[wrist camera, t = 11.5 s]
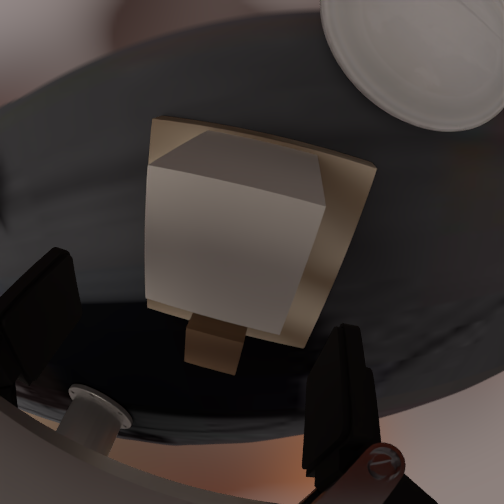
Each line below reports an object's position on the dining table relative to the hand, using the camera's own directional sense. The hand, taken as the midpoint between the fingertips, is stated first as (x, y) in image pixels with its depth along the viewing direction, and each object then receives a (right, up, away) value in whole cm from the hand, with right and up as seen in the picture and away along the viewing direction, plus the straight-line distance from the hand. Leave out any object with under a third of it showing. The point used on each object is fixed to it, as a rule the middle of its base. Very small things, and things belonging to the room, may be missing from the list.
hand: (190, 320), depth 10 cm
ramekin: (+11, +16, +4) cm, 20 cm away
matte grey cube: (+2, +6, +9) cm, 11 cm away
